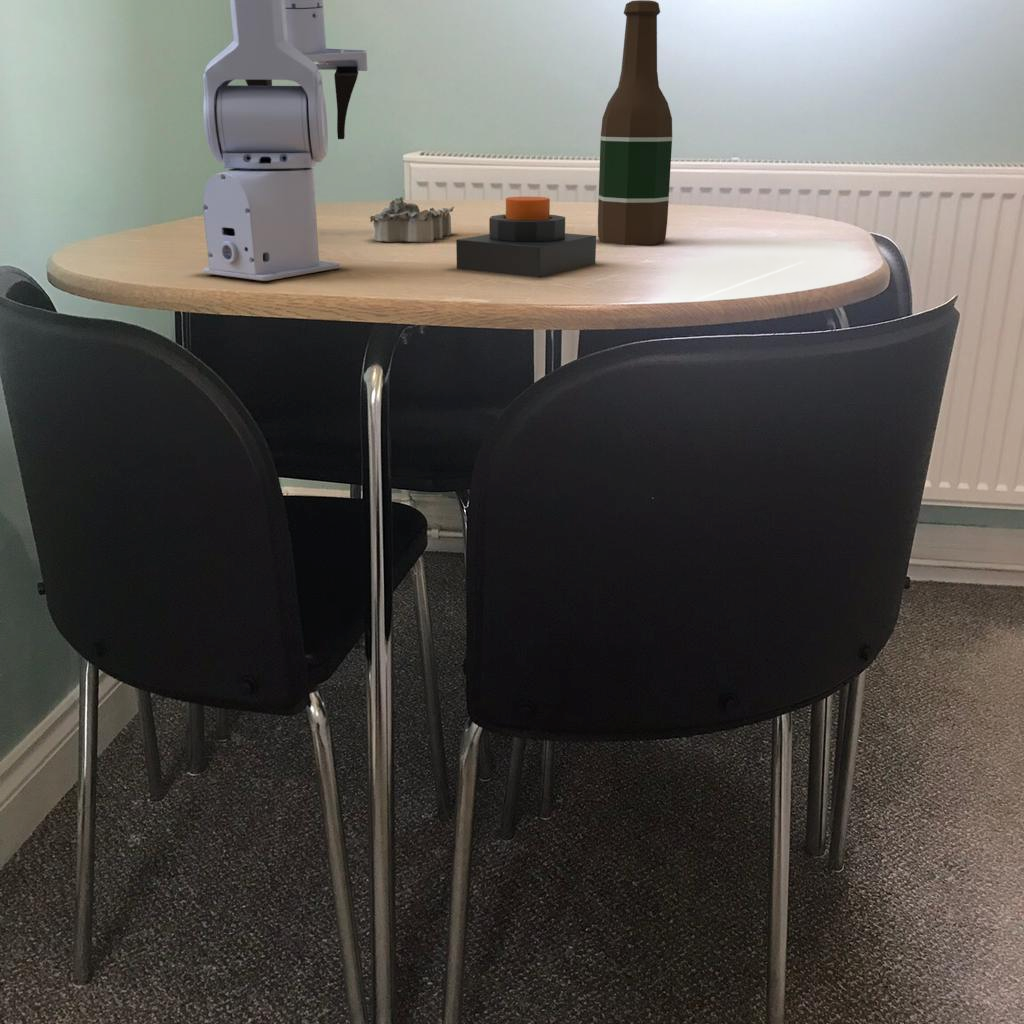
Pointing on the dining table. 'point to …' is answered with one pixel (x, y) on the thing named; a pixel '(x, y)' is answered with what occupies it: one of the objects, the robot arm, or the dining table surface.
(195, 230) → the dining table surface
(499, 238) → the button base
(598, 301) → the dining table surface
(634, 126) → the beer bottle
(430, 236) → the egg carton
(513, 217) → the switch
